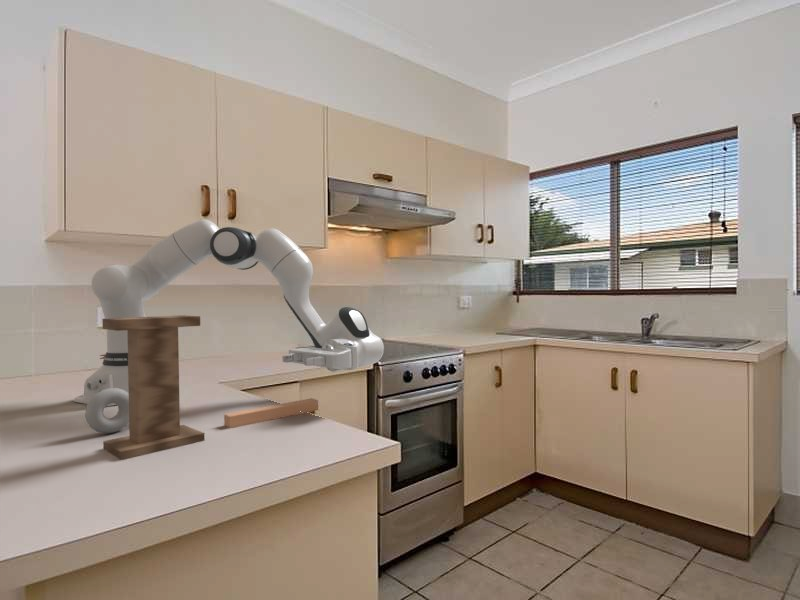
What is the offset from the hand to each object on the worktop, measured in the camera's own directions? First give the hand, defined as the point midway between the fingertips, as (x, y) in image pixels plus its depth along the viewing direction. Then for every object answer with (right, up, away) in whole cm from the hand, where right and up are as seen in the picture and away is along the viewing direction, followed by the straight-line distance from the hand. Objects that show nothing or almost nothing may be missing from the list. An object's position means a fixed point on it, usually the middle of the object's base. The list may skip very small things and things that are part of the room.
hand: (294, 360), depth 126 cm
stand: (-23, -14, -25) cm, 37 cm away
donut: (-37, -14, -16) cm, 43 cm away
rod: (-4, -14, -4) cm, 15 cm away
